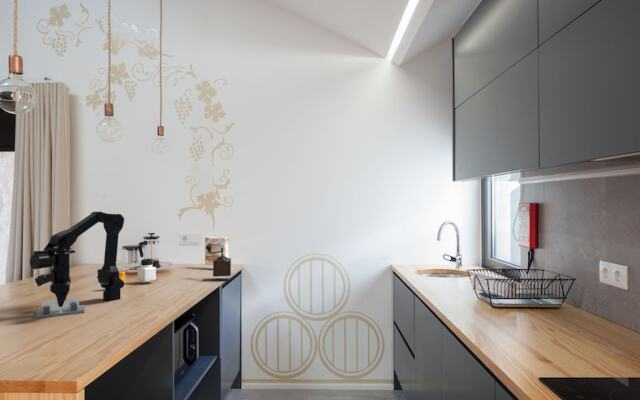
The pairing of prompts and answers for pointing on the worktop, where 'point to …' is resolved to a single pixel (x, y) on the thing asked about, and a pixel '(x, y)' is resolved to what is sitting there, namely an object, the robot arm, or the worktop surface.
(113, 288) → the robot arm
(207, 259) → the coffeecake box
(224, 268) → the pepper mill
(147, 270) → the medicine bottle
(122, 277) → the pipe clamp
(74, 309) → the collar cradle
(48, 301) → the shiny metal block
